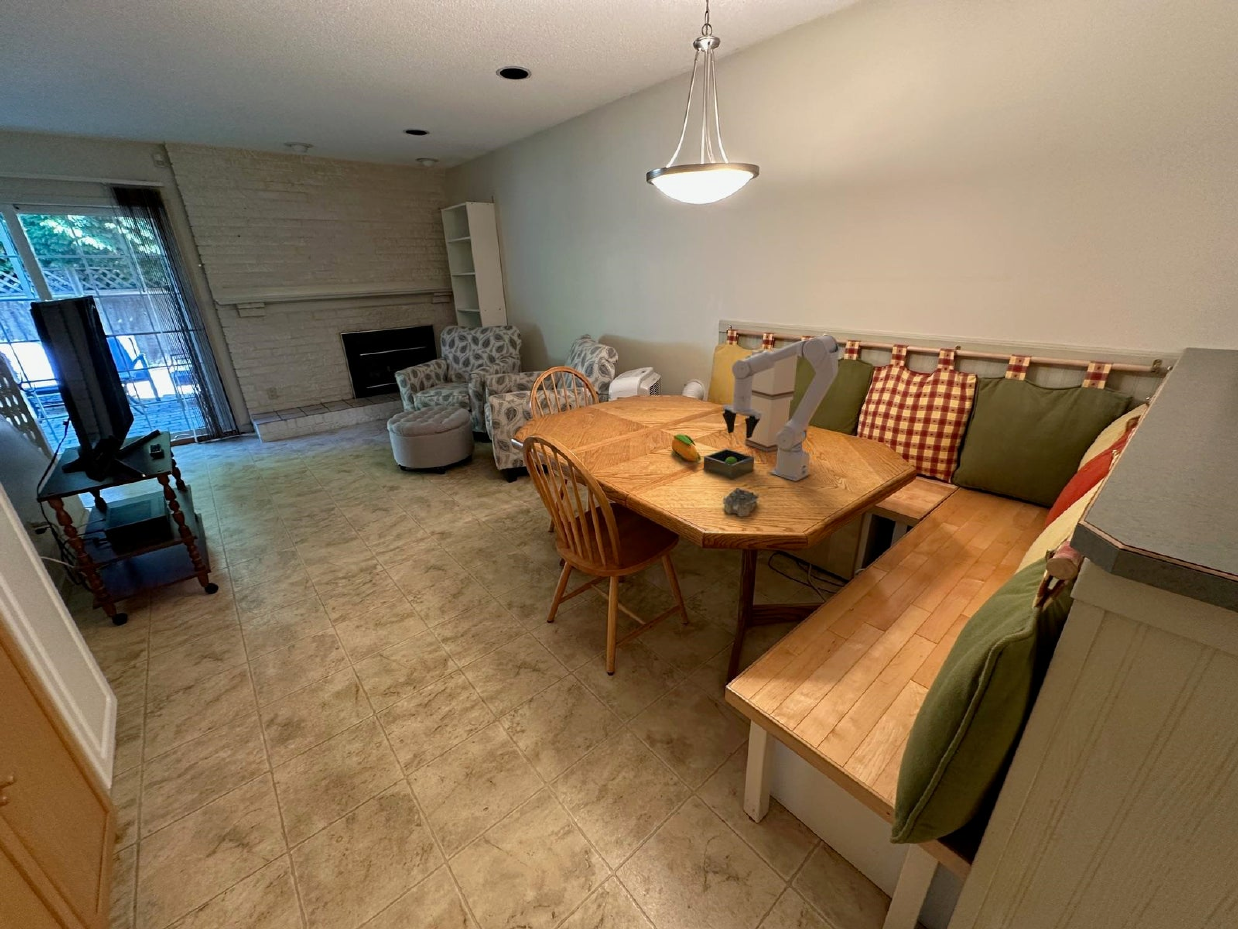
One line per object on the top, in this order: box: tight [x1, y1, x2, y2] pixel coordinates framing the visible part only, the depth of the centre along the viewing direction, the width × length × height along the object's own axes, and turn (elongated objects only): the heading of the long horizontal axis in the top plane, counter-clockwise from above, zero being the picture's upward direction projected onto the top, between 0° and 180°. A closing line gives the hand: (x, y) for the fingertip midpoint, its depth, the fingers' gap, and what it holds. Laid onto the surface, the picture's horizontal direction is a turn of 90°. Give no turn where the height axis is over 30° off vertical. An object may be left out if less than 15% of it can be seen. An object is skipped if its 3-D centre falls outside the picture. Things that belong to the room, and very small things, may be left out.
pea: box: [725, 457, 737, 465], centre depth 158 cm, size 4×4×4 cm
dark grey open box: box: [703, 448, 755, 480], centre depth 158 cm, size 12×12×5 cm
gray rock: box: [722, 486, 760, 517], centre depth 132 cm, size 11×8×4 cm
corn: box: [671, 433, 702, 462], centre depth 169 cm, size 7×8×20 cm
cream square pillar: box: [744, 347, 799, 453], centre depth 175 cm, size 11×11×35 cm
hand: (739, 435), depth 163 cm, fingers open, 7 cm apart
